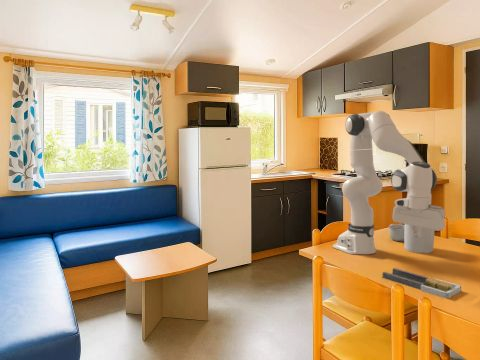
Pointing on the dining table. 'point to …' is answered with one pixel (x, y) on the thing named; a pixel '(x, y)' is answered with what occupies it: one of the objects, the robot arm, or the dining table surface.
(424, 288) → the tray
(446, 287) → the yellow cube
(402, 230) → the teacup
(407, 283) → the slot bed
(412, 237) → the utensil holder
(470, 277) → the dining table surface
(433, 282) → the tan yellow cube
